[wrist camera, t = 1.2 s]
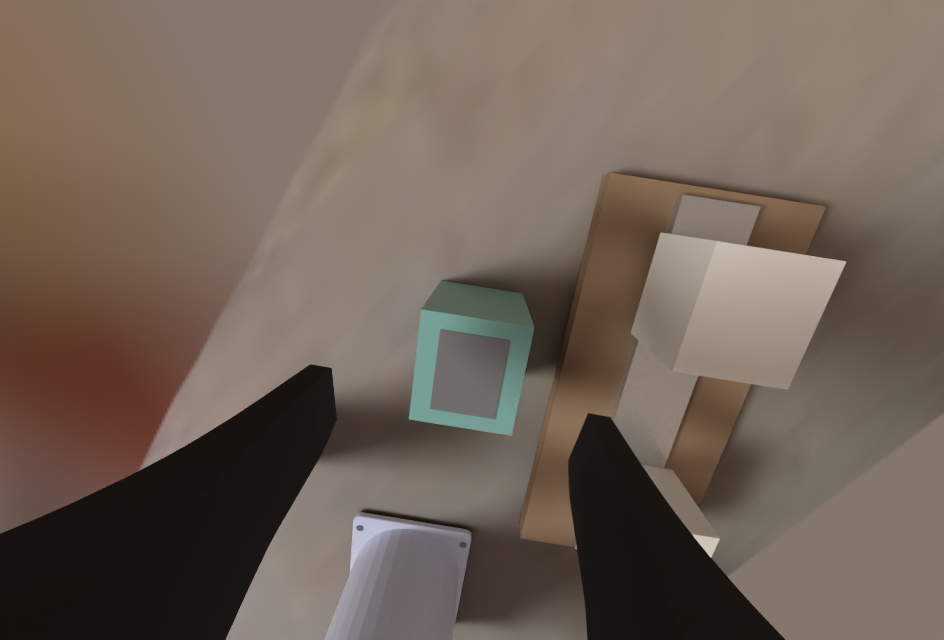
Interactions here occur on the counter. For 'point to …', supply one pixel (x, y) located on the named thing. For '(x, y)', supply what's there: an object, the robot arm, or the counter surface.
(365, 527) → the robot arm
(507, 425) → the block
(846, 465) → the counter surface
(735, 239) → the rail
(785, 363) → the mounted modules
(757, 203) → the rail board
